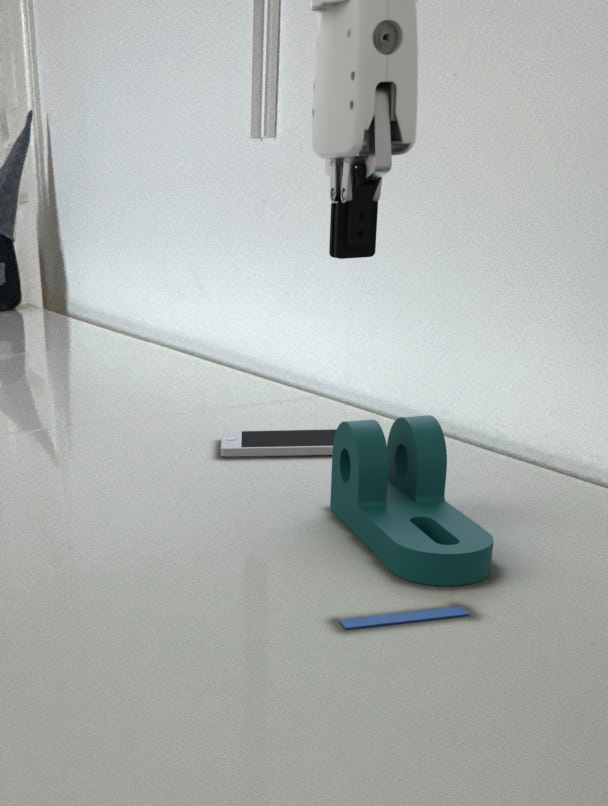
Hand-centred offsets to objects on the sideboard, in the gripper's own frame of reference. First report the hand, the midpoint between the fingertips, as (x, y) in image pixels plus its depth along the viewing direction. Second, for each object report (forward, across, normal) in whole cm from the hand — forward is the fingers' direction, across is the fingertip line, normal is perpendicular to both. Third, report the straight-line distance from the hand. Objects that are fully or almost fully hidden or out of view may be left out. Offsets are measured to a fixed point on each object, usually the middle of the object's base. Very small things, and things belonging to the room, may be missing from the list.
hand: (351, 256), depth 79 cm
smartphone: (+19, +15, -1) cm, 24 cm away
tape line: (+19, -27, +6) cm, 34 cm away
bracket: (+19, -14, 0) cm, 24 cm away
